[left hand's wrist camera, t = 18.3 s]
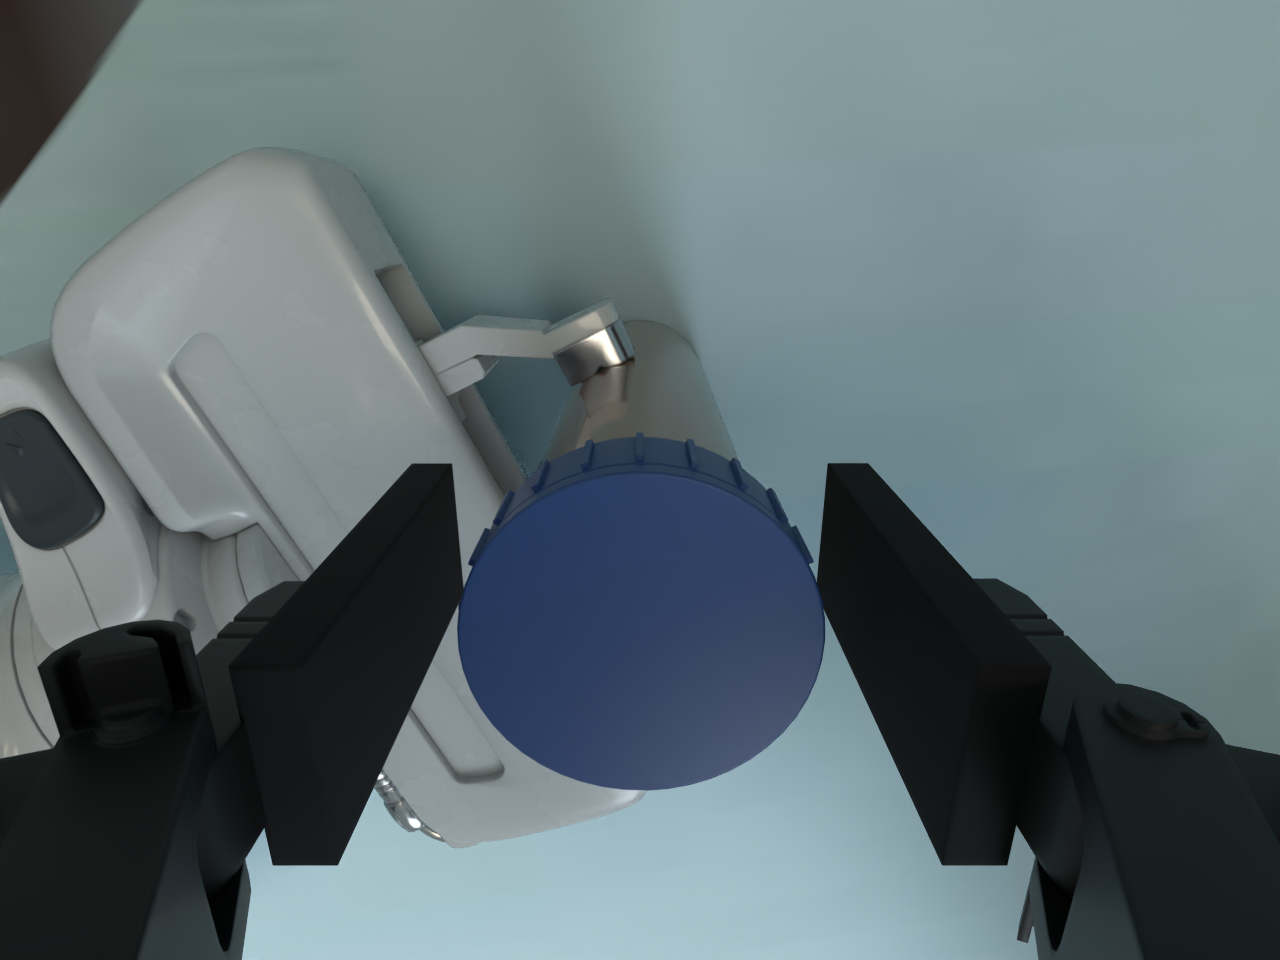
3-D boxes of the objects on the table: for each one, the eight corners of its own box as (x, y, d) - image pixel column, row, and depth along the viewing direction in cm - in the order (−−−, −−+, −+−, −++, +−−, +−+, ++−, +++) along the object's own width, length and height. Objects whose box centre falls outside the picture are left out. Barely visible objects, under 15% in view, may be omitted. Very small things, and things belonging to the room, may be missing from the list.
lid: (540, 756, 13) (528, 828, 12) (425, 485, 11) (391, 529, 10) (836, 683, 13) (863, 749, 11) (762, 387, 11) (782, 417, 9)
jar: (552, 366, 26) (430, 584, 11) (658, 294, 25) (686, 420, 10) (623, 466, 27) (604, 785, 12) (726, 400, 26) (843, 655, 11)
